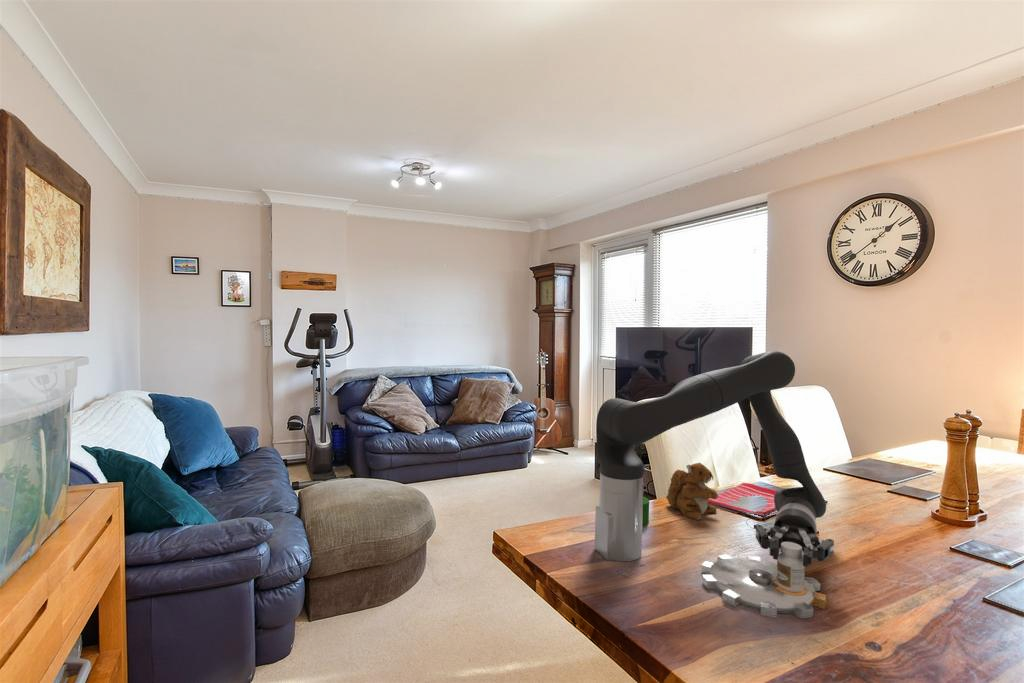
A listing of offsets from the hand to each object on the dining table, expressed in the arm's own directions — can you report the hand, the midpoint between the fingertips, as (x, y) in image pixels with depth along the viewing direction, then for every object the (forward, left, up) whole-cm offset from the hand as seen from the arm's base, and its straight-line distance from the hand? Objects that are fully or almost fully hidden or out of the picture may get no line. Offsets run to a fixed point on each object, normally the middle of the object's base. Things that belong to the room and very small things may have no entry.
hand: (790, 557), depth 92 cm
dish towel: (+32, +46, -9) cm, 57 cm away
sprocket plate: (-1, +6, -8) cm, 10 cm away
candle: (-8, +42, -8) cm, 43 cm away
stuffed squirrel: (+11, +45, -8) cm, 47 cm away
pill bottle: (+2, +2, -7) cm, 7 cm away
